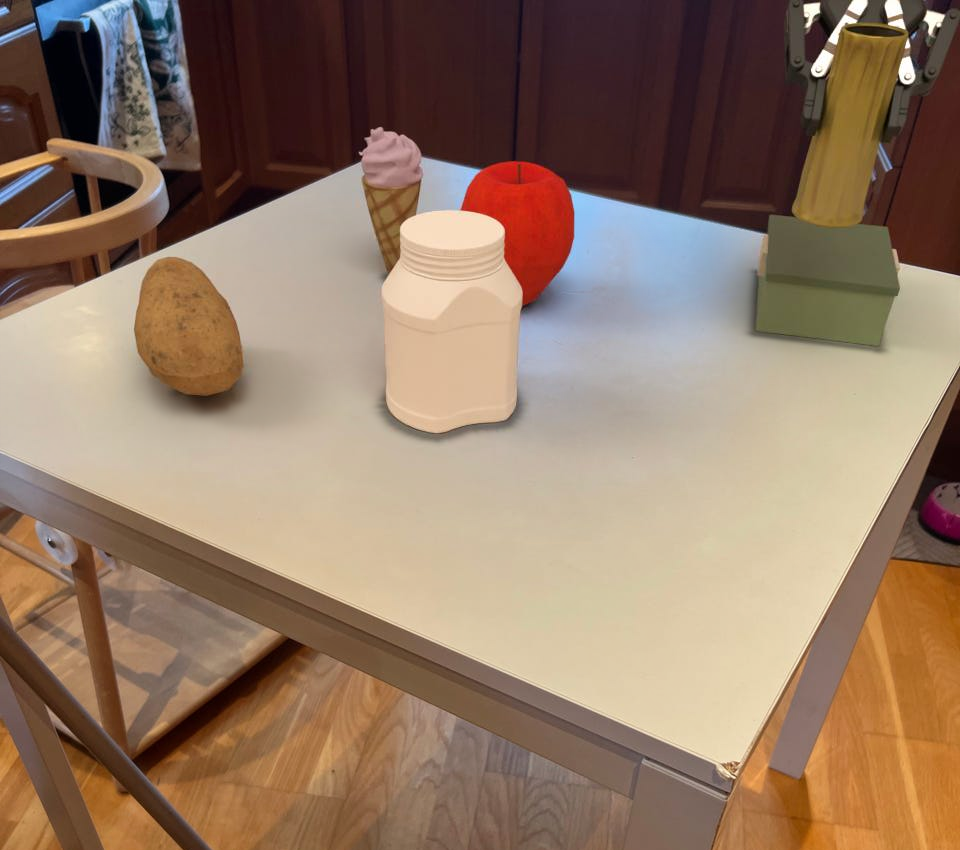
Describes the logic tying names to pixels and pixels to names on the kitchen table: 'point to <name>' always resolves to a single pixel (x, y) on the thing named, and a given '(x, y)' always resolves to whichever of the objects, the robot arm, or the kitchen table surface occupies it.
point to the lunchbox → (826, 281)
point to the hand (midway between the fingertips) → (850, 133)
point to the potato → (187, 329)
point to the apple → (526, 219)
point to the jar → (451, 323)
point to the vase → (850, 125)
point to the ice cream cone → (390, 187)
